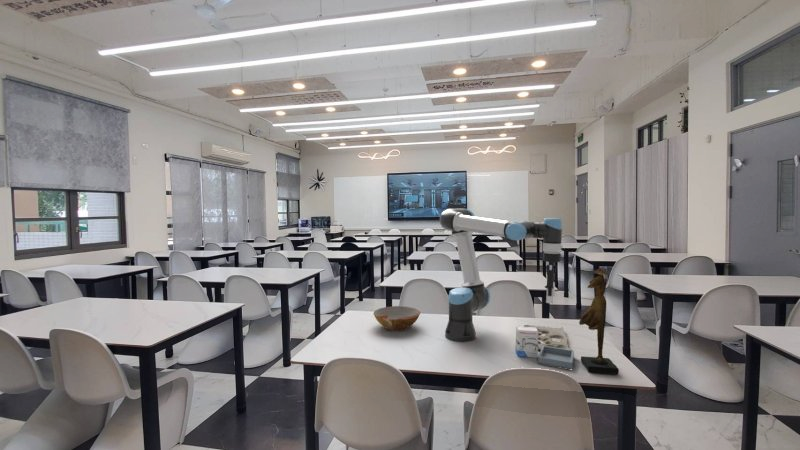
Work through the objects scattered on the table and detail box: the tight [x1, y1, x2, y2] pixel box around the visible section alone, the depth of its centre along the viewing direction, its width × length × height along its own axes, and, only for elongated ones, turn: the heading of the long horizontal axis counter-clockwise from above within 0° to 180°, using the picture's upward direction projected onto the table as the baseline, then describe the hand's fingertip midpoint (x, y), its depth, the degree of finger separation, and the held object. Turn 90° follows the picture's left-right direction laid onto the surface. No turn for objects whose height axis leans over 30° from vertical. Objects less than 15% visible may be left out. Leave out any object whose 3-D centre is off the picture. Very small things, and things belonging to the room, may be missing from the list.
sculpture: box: [578, 267, 620, 375], centre depth 146 cm, size 13×11×40 cm
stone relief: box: [523, 324, 570, 351], centre depth 178 cm, size 32×3×20 cm
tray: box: [537, 345, 575, 370], centre depth 154 cm, size 13×14×3 cm
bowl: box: [373, 305, 421, 331], centre depth 198 cm, size 25×25×8 cm
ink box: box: [515, 325, 539, 359], centre depth 160 cm, size 9×5×12 cm, turn 80°
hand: (550, 299), depth 166 cm, fingers open, 13 cm apart
